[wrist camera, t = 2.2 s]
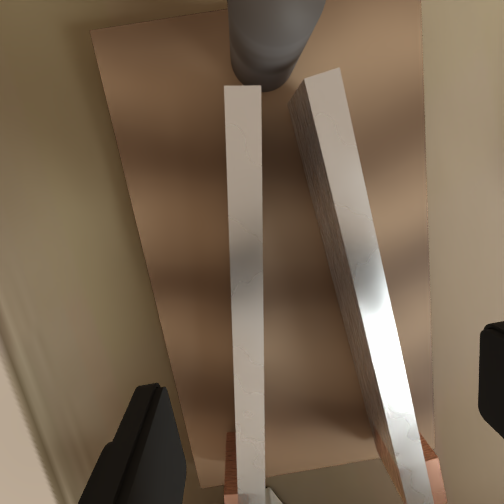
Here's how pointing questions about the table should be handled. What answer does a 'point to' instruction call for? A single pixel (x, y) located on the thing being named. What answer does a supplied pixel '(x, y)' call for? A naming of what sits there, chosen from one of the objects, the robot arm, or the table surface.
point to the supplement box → (271, 497)
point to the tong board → (273, 211)
